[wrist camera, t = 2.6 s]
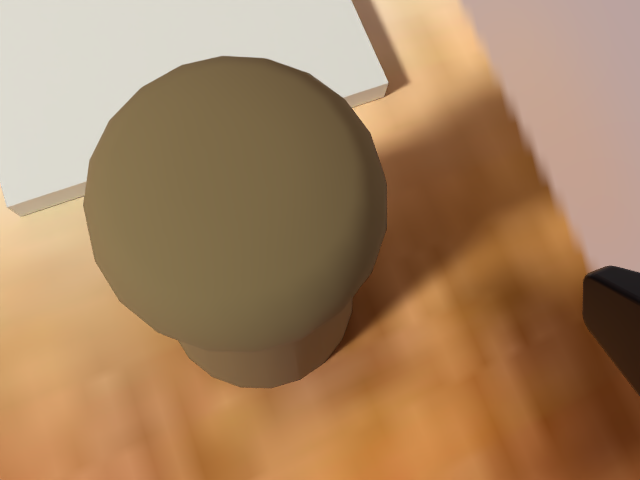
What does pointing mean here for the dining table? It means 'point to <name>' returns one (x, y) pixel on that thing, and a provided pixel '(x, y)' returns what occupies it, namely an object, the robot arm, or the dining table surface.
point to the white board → (144, 70)
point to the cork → (238, 215)
